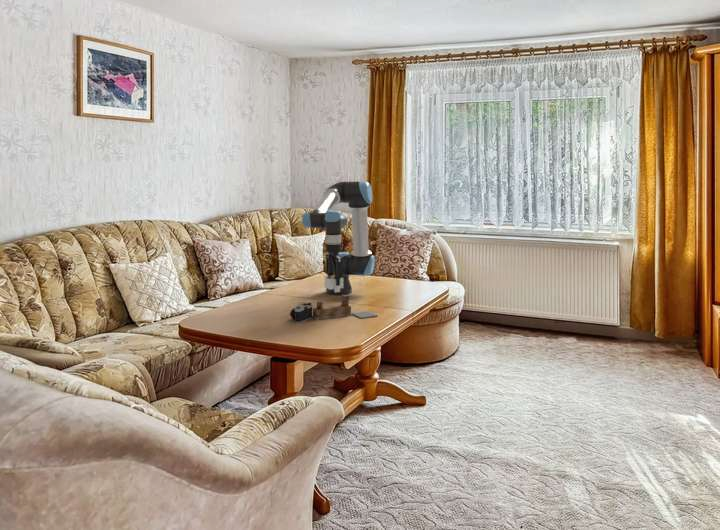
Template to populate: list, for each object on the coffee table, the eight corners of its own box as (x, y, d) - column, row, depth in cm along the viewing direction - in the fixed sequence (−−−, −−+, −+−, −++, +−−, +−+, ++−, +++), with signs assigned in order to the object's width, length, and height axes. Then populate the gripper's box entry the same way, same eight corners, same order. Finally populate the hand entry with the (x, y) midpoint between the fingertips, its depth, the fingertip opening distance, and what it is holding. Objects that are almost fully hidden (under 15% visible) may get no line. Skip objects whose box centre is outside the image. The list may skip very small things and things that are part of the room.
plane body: (316, 319, 272) (316, 299, 271) (312, 316, 277) (311, 297, 276) (351, 315, 281) (351, 296, 279) (346, 312, 286) (346, 294, 284)
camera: (300, 315, 281) (299, 297, 279) (314, 316, 277) (313, 299, 275) (286, 323, 269) (285, 305, 267) (301, 325, 266) (299, 306, 264)
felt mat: (351, 314, 283) (351, 313, 283) (367, 312, 287) (367, 311, 287) (360, 318, 274) (360, 317, 274) (377, 316, 278) (377, 315, 278)
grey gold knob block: (324, 286, 279) (324, 275, 278) (337, 285, 282) (337, 273, 281) (330, 289, 273) (329, 277, 272) (343, 287, 276) (343, 276, 275)
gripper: (318, 241, 281) (319, 287, 285) (334, 246, 264) (335, 295, 268) (332, 240, 284) (332, 285, 288) (349, 245, 267) (349, 293, 271)
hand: (334, 290), depth 278 cm, fingers closed on grey gold knob block, 6 cm apart
